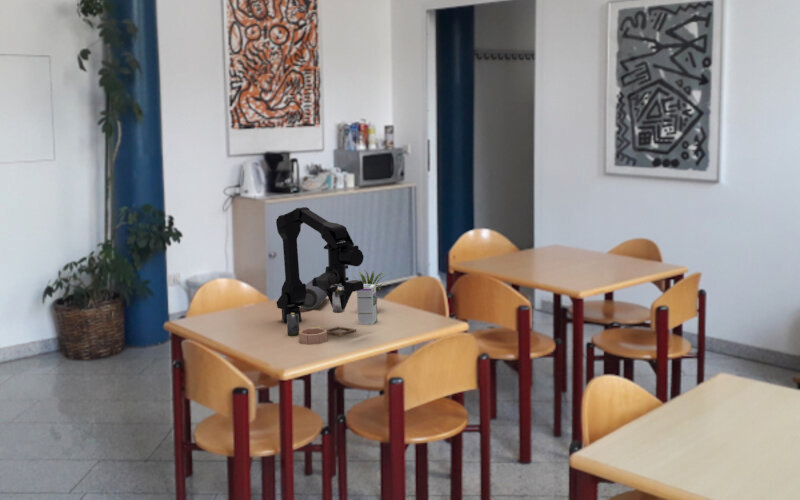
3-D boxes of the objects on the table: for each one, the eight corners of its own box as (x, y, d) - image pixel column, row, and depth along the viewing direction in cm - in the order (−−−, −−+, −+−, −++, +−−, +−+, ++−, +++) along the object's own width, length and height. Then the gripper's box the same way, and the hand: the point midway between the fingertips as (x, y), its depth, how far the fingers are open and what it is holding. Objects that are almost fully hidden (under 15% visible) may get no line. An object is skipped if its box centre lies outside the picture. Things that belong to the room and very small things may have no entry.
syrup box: (374, 327, 316) (372, 287, 314) (357, 327, 318) (356, 286, 315) (377, 323, 322) (376, 283, 320) (361, 323, 323) (360, 283, 321)
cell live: (330, 312, 305) (329, 290, 304) (338, 309, 308) (337, 287, 307) (339, 313, 303) (338, 291, 301) (346, 311, 306) (346, 289, 305)
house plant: (398, 309, 342) (397, 267, 340) (378, 317, 331) (376, 273, 328) (367, 306, 350) (366, 264, 347) (346, 313, 338) (344, 270, 336)
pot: (293, 344, 297) (293, 332, 296) (312, 338, 304) (312, 326, 303) (313, 348, 291) (313, 336, 290) (332, 342, 298) (332, 330, 297)
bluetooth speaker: (310, 299, 365) (309, 275, 363) (332, 299, 364) (331, 275, 362) (296, 312, 343) (294, 286, 341) (320, 312, 341) (319, 287, 340)
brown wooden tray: (323, 336, 306) (322, 331, 306) (338, 331, 312) (338, 326, 312) (340, 339, 301) (340, 334, 301) (356, 334, 307) (356, 329, 307)
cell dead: (285, 335, 304) (284, 313, 303) (293, 332, 308) (292, 311, 306) (293, 337, 302) (292, 314, 301) (302, 334, 305) (301, 312, 304)
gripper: (300, 264, 302) (302, 309, 305) (341, 269, 291) (343, 316, 293) (322, 259, 311) (324, 303, 313) (364, 264, 299) (365, 310, 302)
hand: (338, 308), depth 305 cm, fingers closed on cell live, 4 cm apart
